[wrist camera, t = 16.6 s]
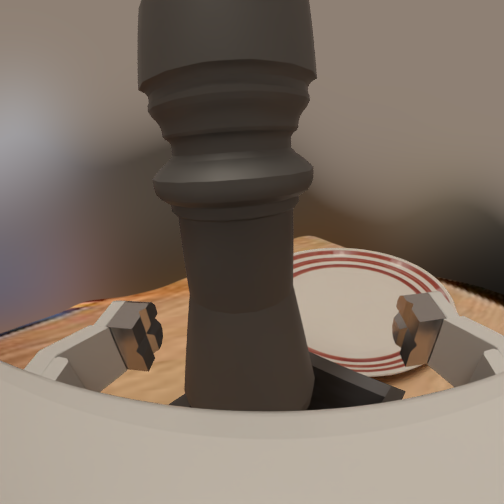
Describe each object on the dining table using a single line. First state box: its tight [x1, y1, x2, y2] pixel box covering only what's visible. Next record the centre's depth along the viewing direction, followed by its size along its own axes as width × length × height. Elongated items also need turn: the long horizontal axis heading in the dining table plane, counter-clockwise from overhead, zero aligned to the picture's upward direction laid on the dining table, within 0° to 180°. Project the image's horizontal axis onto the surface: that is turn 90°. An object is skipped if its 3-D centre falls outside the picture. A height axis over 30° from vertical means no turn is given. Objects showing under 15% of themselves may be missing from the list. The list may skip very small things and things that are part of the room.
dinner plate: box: [293, 248, 456, 377], centre depth 35 cm, size 28×27×3 cm
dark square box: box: [169, 352, 405, 410], centre depth 15 cm, size 14×13×8 cm
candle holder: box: [138, 0, 317, 411], centre depth 12 cm, size 6×6×25 cm
